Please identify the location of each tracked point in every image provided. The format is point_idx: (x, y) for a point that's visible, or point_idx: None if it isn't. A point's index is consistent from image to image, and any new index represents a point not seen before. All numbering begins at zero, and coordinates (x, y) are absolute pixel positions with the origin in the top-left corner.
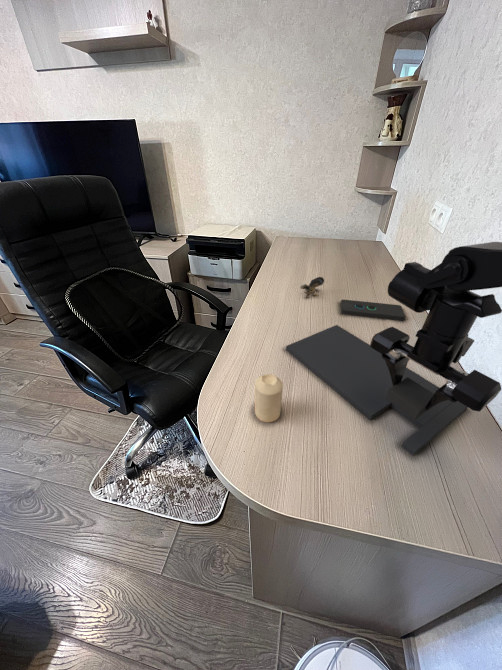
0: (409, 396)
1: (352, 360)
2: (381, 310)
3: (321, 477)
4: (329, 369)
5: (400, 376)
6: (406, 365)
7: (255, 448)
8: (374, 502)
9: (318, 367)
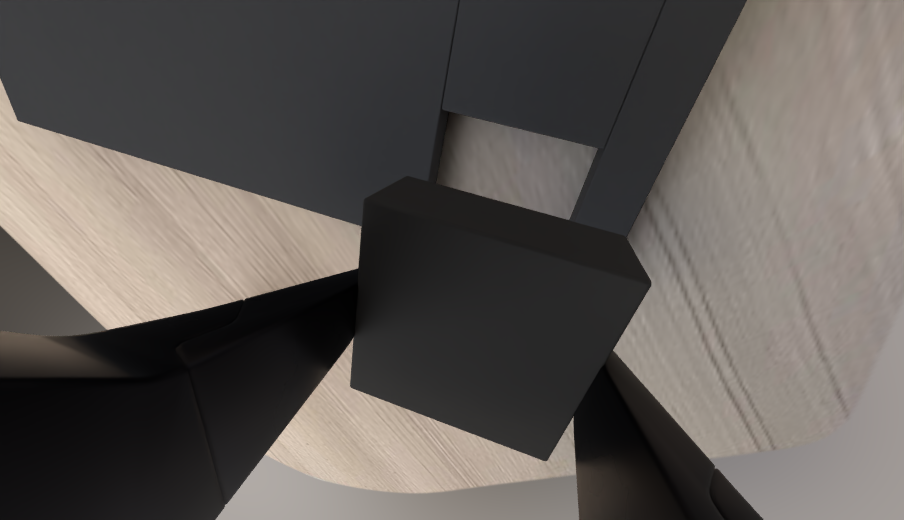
0: (460, 390)
1: None
2: None
3: (430, 432)
4: (177, 120)
5: (312, 347)
6: (213, 359)
7: (313, 433)
8: None
9: (155, 144)
